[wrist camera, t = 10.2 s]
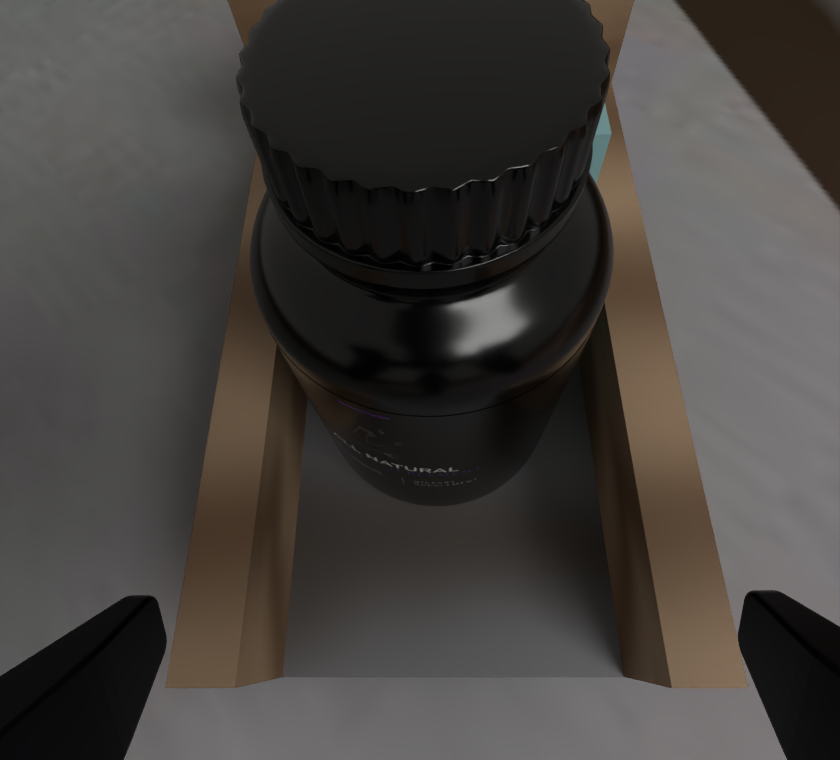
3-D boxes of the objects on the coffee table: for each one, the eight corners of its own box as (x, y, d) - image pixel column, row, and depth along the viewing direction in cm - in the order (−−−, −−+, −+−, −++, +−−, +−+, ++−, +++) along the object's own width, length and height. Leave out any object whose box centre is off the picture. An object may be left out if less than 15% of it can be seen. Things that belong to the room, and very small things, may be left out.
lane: (674, 674, 15) (921, 719, 7) (235, 675, 15) (8, 715, 8) (580, 147, 23) (644, -103, 15) (298, 162, 24) (221, -71, 16)
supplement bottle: (363, 543, 16) (166, 349, 5) (314, 348, 19) (122, -38, 8) (582, 472, 17) (821, 160, 6) (501, 293, 19) (558, -142, 9)
